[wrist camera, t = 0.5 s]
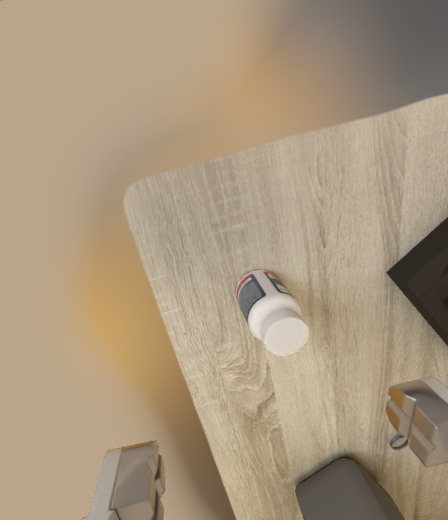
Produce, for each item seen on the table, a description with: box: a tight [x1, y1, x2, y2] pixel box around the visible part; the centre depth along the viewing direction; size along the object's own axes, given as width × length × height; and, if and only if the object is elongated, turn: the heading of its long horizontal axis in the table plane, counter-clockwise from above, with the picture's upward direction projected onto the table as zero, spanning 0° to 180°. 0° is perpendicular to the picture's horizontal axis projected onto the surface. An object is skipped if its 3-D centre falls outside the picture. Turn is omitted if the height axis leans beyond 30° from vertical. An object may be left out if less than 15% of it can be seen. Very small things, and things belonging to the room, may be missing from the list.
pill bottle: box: [236, 270, 309, 356], centre depth 26 cm, size 5×5×9 cm
